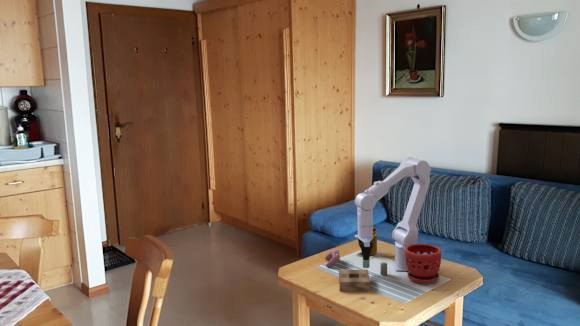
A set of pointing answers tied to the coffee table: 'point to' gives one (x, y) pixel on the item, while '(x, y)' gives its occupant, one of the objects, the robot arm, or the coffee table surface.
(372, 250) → the condiment
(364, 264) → the long pin
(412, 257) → the plant pot
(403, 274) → the coffee table surface
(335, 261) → the pink curved piece
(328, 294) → the coffee table surface
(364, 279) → the hole block
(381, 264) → the short pin
